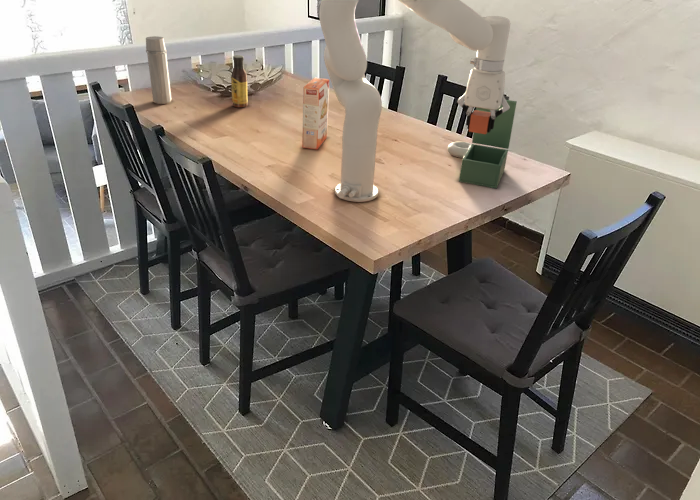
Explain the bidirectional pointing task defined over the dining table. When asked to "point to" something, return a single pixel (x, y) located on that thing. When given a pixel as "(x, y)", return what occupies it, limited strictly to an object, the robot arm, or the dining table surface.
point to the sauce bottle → (239, 83)
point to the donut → (459, 148)
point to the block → (479, 121)
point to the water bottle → (158, 69)
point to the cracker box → (315, 113)
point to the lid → (498, 128)
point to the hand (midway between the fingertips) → (479, 129)
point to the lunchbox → (483, 165)
